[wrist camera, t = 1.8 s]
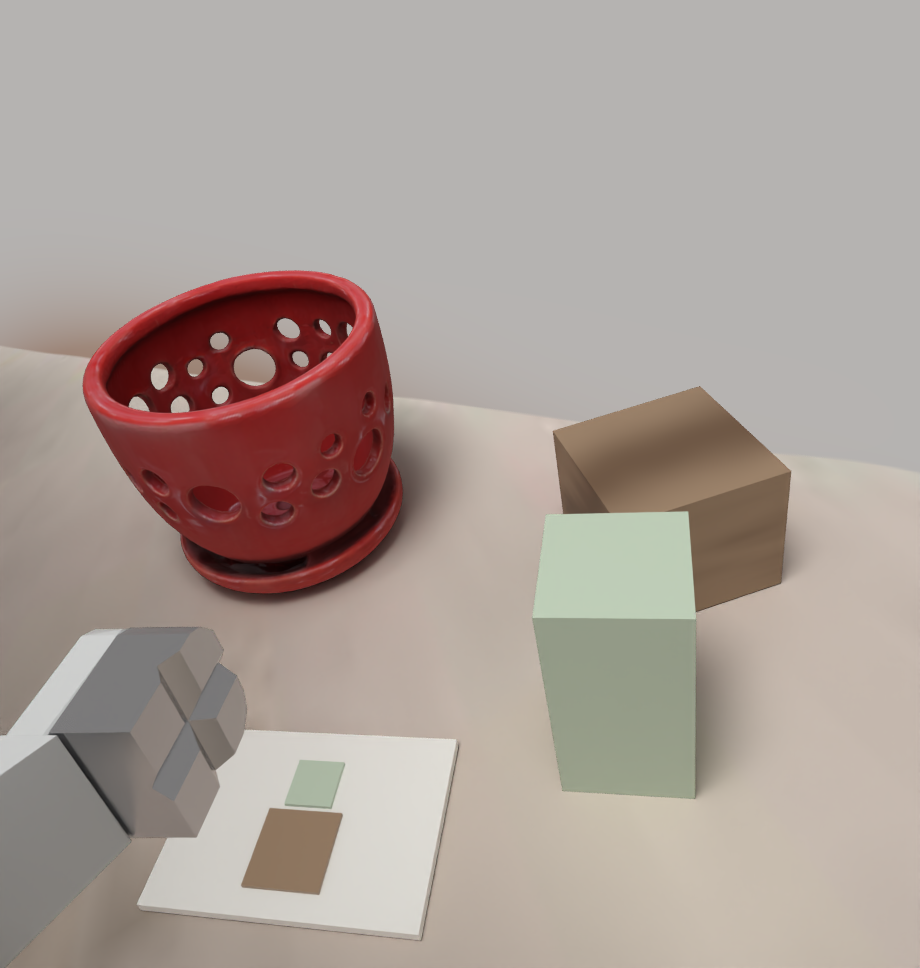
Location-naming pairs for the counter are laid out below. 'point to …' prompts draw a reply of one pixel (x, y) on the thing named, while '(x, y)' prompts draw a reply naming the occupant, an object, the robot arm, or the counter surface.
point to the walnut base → (685, 485)
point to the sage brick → (619, 651)
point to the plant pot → (257, 428)
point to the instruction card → (315, 835)
